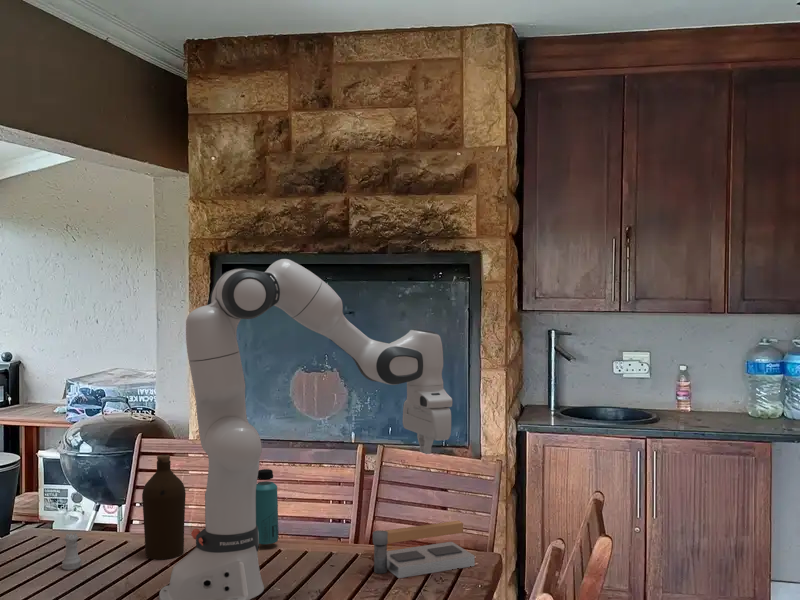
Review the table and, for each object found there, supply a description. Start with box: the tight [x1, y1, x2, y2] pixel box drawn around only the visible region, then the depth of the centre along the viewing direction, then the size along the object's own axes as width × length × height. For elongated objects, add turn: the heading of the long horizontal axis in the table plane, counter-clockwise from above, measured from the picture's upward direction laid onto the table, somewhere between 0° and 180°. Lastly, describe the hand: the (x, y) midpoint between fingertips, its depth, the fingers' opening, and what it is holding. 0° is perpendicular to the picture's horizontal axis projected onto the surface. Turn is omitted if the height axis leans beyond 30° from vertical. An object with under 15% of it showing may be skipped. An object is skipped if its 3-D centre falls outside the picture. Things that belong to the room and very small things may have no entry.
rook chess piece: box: [61, 532, 82, 571], centre depth 199 cm, size 4×4×8 cm
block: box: [373, 541, 475, 579], centre depth 198 cm, size 24×12×6 cm, turn 114°
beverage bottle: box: [256, 468, 280, 545], centre depth 214 cm, size 6×7×20 cm
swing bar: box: [372, 520, 464, 545], centre depth 198 cm, size 23×4×2 cm, turn 114°
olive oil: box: [141, 454, 186, 561], centre depth 208 cm, size 11×11×25 cm
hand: (425, 453), depth 199 cm, fingers closed
